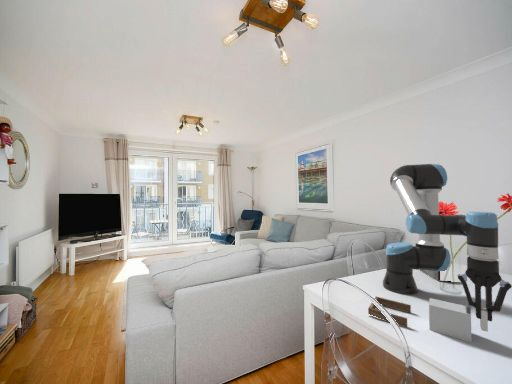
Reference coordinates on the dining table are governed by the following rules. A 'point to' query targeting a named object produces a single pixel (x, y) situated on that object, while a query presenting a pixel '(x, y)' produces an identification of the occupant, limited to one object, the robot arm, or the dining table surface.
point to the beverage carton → (432, 274)
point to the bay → (391, 304)
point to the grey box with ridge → (450, 319)
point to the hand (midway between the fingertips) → (484, 329)
